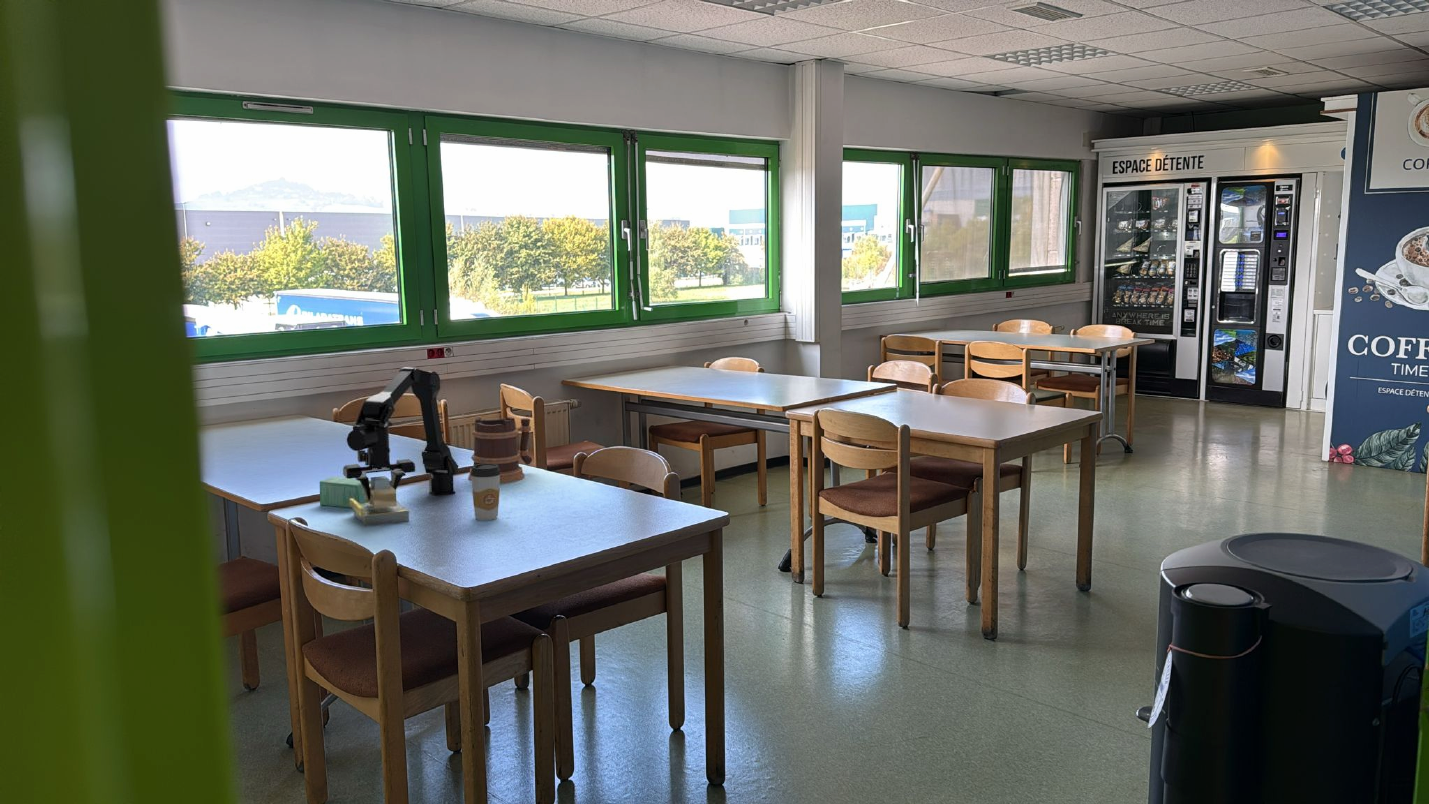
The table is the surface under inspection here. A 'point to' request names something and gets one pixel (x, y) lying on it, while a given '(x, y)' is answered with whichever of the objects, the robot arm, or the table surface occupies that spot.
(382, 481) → the grey blue block
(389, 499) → the tan stepped block
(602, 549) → the table surface
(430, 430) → the robot arm
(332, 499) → the box
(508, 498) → the table surface
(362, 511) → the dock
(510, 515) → the table surface
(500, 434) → the mug
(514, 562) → the table surface
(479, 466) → the coffee cup
